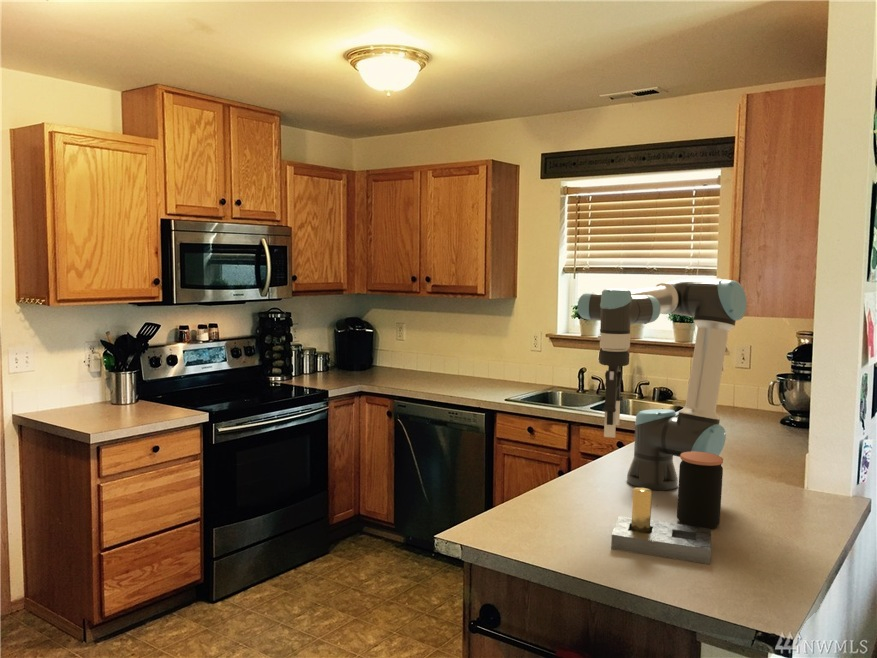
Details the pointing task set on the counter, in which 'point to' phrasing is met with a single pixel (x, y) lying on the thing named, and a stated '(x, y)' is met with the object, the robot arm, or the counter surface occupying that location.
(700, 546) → the block
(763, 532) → the counter surface
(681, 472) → the coffee jar
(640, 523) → the yellow translucent cylinder
